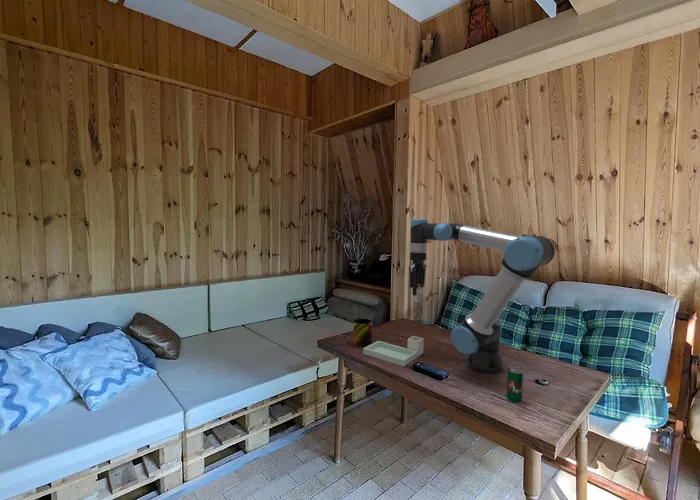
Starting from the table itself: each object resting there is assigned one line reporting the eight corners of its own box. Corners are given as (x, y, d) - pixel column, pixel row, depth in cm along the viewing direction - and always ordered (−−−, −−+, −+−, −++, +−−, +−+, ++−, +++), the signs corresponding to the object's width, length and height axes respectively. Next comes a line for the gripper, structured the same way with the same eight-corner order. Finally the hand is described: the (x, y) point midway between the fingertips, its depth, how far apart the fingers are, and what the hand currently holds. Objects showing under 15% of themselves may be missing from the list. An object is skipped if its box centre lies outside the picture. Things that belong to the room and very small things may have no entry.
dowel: (420, 318, 163) (421, 283, 161) (417, 320, 160) (418, 284, 159) (414, 317, 165) (415, 283, 163) (412, 319, 162) (412, 283, 161)
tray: (417, 358, 160) (417, 351, 159) (403, 368, 149) (404, 360, 149) (378, 347, 173) (378, 340, 173) (363, 355, 163) (363, 348, 163)
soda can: (517, 395, 127) (518, 364, 126) (524, 403, 122) (526, 370, 121) (503, 395, 127) (505, 364, 126) (510, 403, 122) (512, 370, 121)
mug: (359, 337, 188) (359, 315, 187) (375, 344, 177) (375, 322, 176) (345, 340, 183) (345, 318, 182) (360, 348, 171) (360, 325, 170)
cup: (423, 354, 165) (423, 338, 164) (417, 358, 160) (418, 341, 160) (412, 351, 168) (413, 335, 167) (407, 355, 164) (407, 339, 163)
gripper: (418, 250, 168) (417, 297, 170) (402, 252, 156) (401, 303, 158) (433, 251, 163) (431, 299, 166) (417, 253, 151) (416, 305, 153)
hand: (416, 301), depth 162 cm, fingers closed on dowel, 3 cm apart
